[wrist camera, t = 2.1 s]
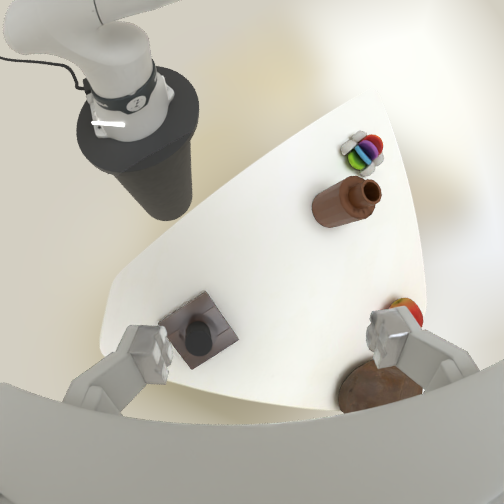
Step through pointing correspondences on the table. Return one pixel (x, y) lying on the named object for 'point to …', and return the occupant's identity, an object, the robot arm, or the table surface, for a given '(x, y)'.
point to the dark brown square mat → (203, 312)
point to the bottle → (346, 202)
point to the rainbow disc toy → (364, 152)
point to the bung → (198, 339)
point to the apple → (410, 308)
